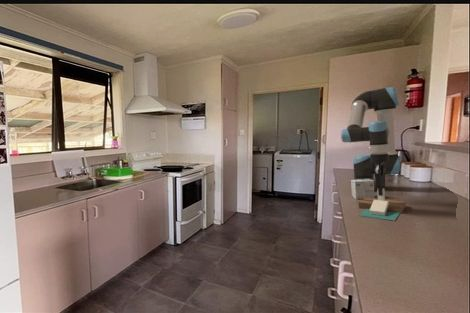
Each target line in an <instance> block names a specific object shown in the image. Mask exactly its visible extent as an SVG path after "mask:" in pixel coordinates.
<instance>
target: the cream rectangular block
mask: <svg viewBox="0 0 470 313" xmlns="http://www.w3.org/2000/svg"><path fill="white" fill-rule="evenodd" d="M388 205H389V204H388V201H381V200H374V201H373V203H372V205H371V208H370V210H369V211H370V214H375V215H382V216H385V214H386V211H387V208H388Z"/></svg>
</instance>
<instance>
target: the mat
mask: <svg viewBox="0 0 470 313" xmlns="http://www.w3.org/2000/svg"><path fill="white" fill-rule="evenodd" d="M369 210H370V209H364V210H363V211H362V212H360V214H359V215H358V216H359V217H363V218H371V219H378V220H384V221H391V222H395V221H396V220H397V218H398V217H399V216H400V214H401V213H398V212H390V211H386V214H385V216H382V215H375V214H370V211H369Z"/></svg>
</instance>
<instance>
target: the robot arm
mask: <svg viewBox="0 0 470 313" xmlns="http://www.w3.org/2000/svg"><path fill="white" fill-rule="evenodd" d="M399 104H400V103H399V98H398V94H397V89H396V88H395V87H393V86H392V87H391V86H390V87H384V88H378V89H373V90H367V91H364V92H361V93H360V94H359V95H357V96H356V97H355V98H354V100H352V102H351V105H350V110H351V112H350V116H349V119H348V124H347V128H344V129H341V131H340V138H341V142H342V143H350V144H351V143H360V142H369V147H368V149H369V153H370V154H364V155H358V156H355V157H354V158H353V162H352V163H353V177H354V178H353V180H358V179H371V180H374V192H375V191H377V198H378V200H381V201H385V199H386V194H385V189H386V188H387V186H386V175H398V174H400V170H401V169H400V168H401V160H402V155H399V152H398V151H397V150H396V143H395V141H396V140H395V139H396V138H395V123H394V120H395V119H394V112H395V111H396V110H397V107H398V106H400V105H399ZM368 110H373V113H375V114H376V119H377V120H376V121H372V122H369V124H368V126H365V127H364V126H363V124H364V120H365V116H366V112H367V111H368Z"/></svg>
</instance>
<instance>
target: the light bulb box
mask: <svg viewBox="0 0 470 313" xmlns="http://www.w3.org/2000/svg"><path fill="white" fill-rule="evenodd" d="M374 180H375V179H374ZM374 180H371V179H358V180H354V179H351V180H350V185H351V186H350V187H351V197H352V196H353V197H354V198H353V197H352V198H353V199H355V200H362V199H364V198H365V197H369V198H376V197H375V196H376V195H375V191H374Z"/></svg>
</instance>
